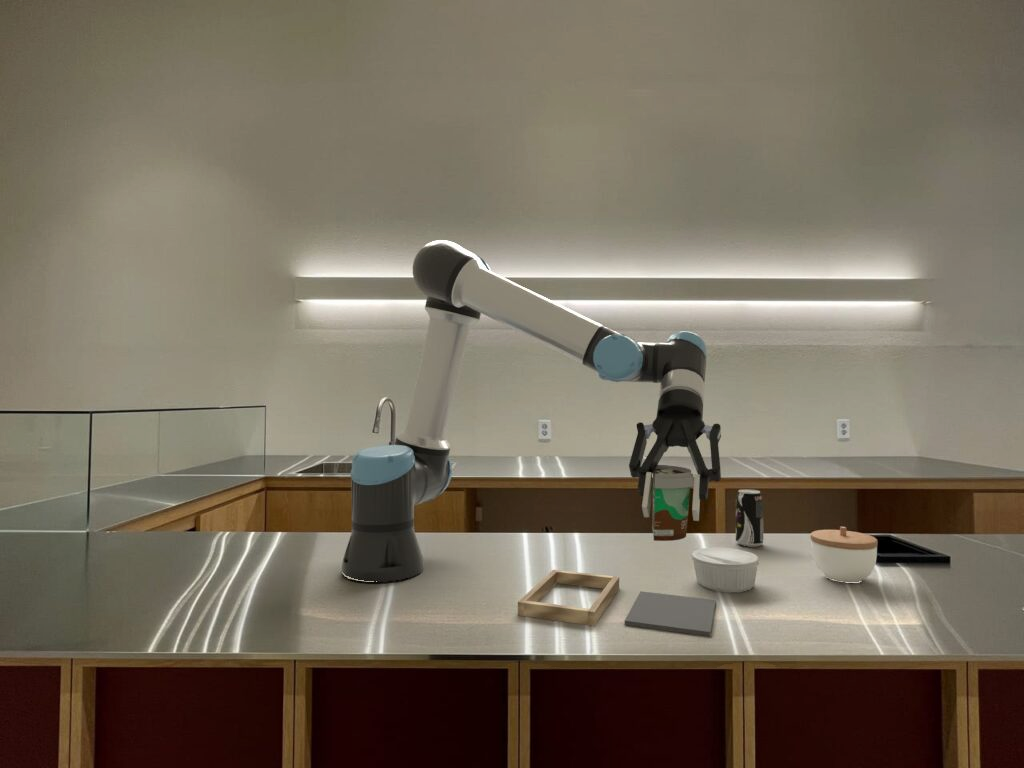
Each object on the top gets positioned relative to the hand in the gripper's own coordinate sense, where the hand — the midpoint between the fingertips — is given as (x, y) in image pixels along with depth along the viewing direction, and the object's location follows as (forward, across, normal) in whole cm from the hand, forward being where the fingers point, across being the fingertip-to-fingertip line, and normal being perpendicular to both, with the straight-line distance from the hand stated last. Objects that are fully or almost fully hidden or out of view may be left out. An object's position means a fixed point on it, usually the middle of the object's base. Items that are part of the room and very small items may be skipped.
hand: (670, 513), depth 91 cm
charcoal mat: (+9, 0, -14) cm, 16 cm away
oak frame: (+9, +16, -14) cm, 23 cm away
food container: (0, 0, -5) cm, 5 cm away
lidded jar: (-11, -27, -35) cm, 45 cm away
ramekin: (-4, -7, -27) cm, 28 cm away
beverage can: (-26, -11, -49) cm, 56 cm away
